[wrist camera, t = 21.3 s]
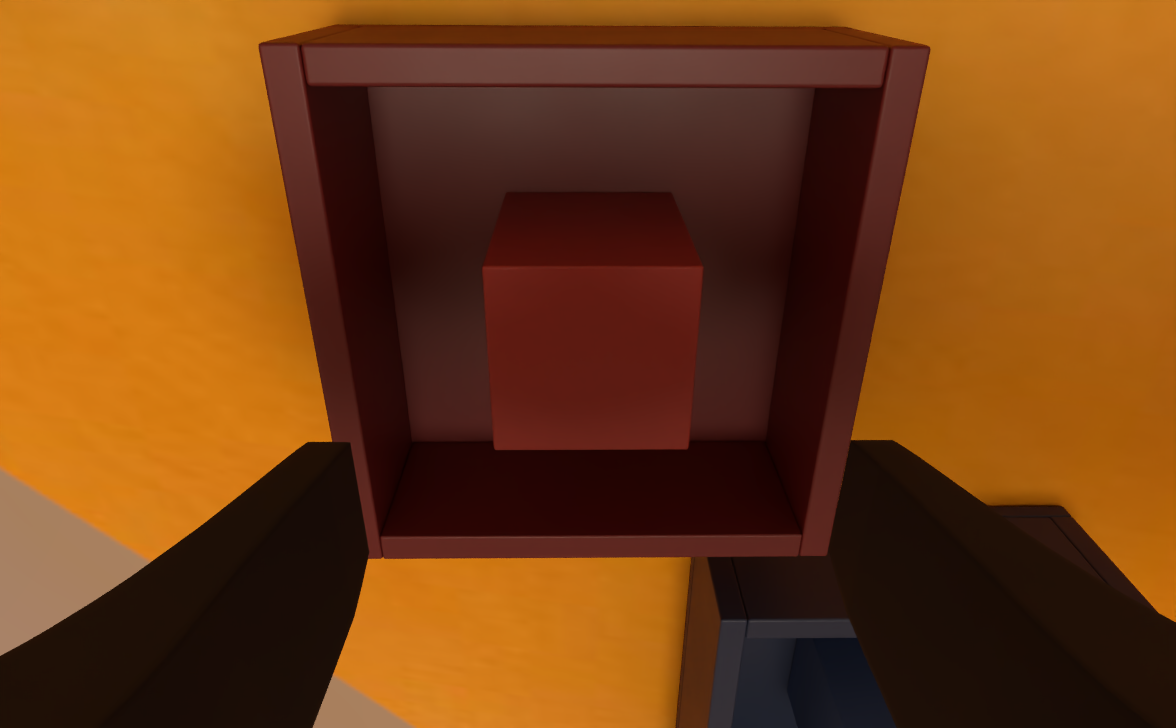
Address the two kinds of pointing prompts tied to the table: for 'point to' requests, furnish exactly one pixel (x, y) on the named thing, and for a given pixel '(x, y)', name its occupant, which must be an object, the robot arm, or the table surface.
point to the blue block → (835, 686)
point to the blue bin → (803, 621)
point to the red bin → (604, 165)
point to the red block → (591, 322)
